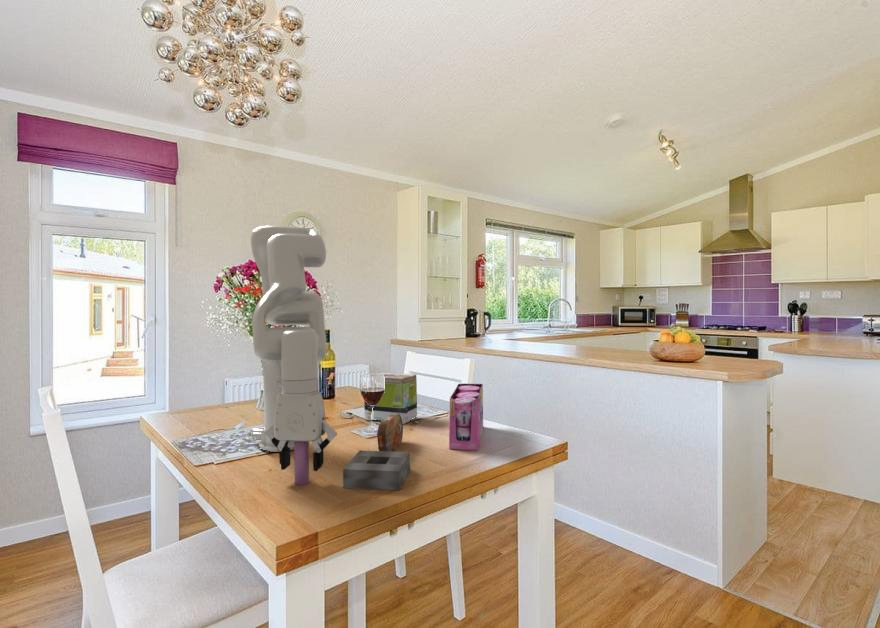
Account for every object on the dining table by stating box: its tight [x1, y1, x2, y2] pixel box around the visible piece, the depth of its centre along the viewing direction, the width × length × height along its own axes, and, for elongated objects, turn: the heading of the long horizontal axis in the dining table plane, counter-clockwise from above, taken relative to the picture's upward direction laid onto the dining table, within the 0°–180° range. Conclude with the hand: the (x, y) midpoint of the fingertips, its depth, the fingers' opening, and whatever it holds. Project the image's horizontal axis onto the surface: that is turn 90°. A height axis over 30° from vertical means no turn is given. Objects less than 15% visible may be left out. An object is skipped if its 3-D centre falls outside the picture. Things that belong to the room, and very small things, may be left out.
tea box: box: [363, 372, 418, 425], centre depth 152 cm, size 15×10×15 cm, turn 66°
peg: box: [293, 441, 310, 486], centre depth 99 cm, size 3×3×10 cm
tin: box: [376, 414, 404, 452], centre depth 121 cm, size 15×3×8 cm, turn 168°
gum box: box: [448, 383, 484, 451], centre depth 130 cm, size 24×8×14 cm, turn 171°
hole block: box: [342, 449, 411, 491], centre depth 101 cm, size 12×12×4 cm
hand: (301, 467), depth 99 cm, fingers open, 6 cm apart
